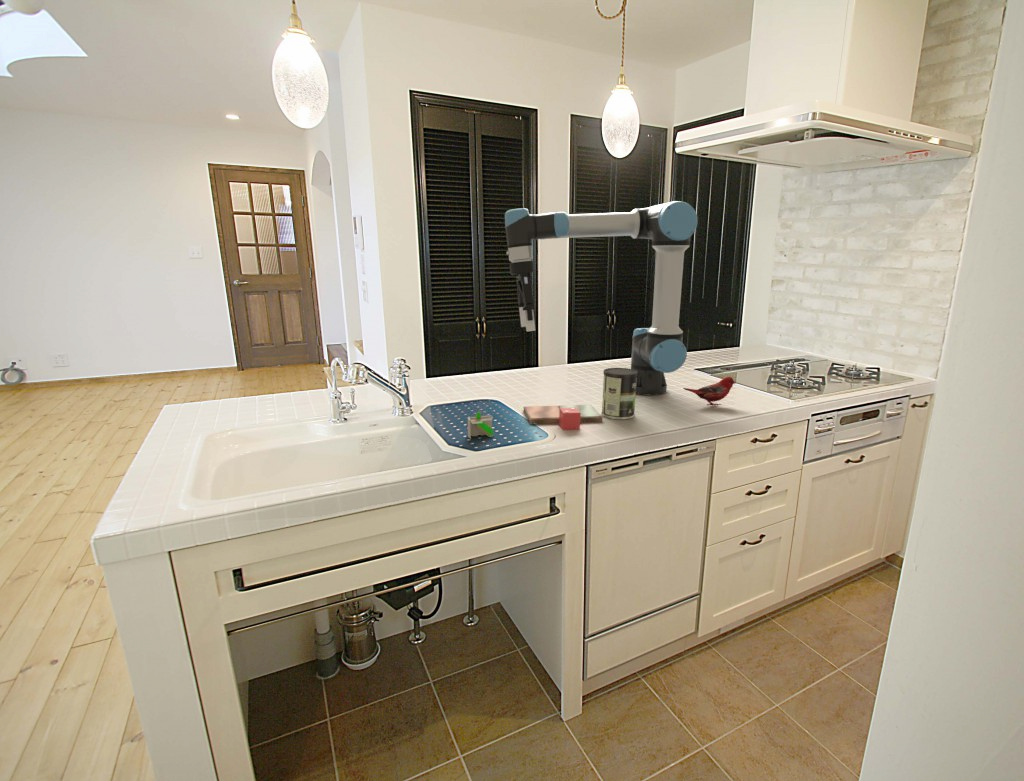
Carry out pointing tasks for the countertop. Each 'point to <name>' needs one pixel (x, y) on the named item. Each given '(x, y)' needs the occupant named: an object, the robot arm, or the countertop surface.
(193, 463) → the countertop surface
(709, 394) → the decorative bird figurine
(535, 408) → the green brown wooden board
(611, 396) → the coffee can
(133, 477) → the countertop surface
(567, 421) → the red cube
